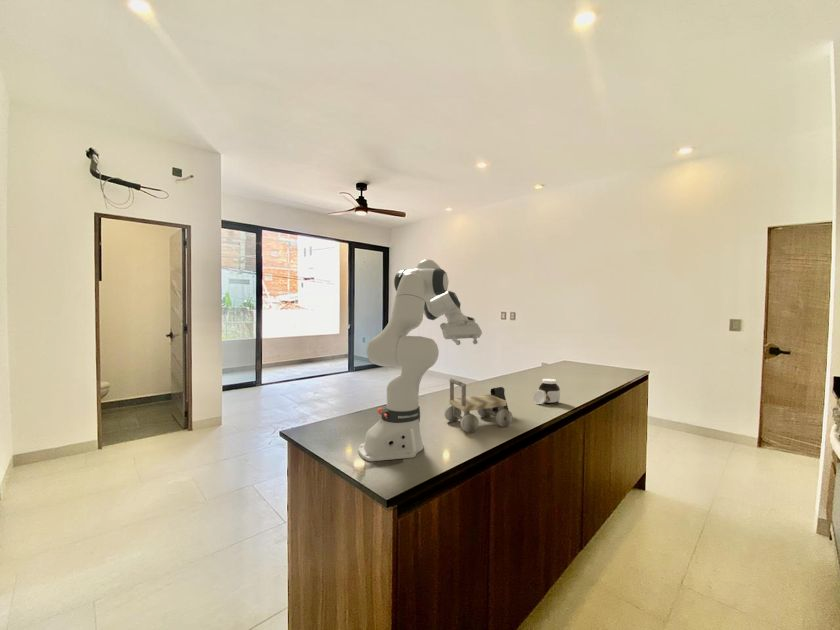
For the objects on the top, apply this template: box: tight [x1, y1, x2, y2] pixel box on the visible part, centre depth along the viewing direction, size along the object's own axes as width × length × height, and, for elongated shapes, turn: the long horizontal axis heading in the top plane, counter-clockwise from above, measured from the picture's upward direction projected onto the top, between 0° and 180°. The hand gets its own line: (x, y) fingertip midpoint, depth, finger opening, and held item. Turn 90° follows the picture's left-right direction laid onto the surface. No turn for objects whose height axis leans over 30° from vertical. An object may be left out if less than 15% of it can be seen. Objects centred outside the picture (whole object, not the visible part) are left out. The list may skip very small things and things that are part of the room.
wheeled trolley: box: [443, 378, 513, 434], centre depth 149 cm, size 23×16×19 cm
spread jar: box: [532, 378, 561, 405], centre depth 179 cm, size 12×11×12 cm
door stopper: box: [490, 386, 509, 417], centre depth 162 cm, size 9×6×12 cm, turn 34°
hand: (467, 343), depth 172 cm, fingers open, 8 cm apart
